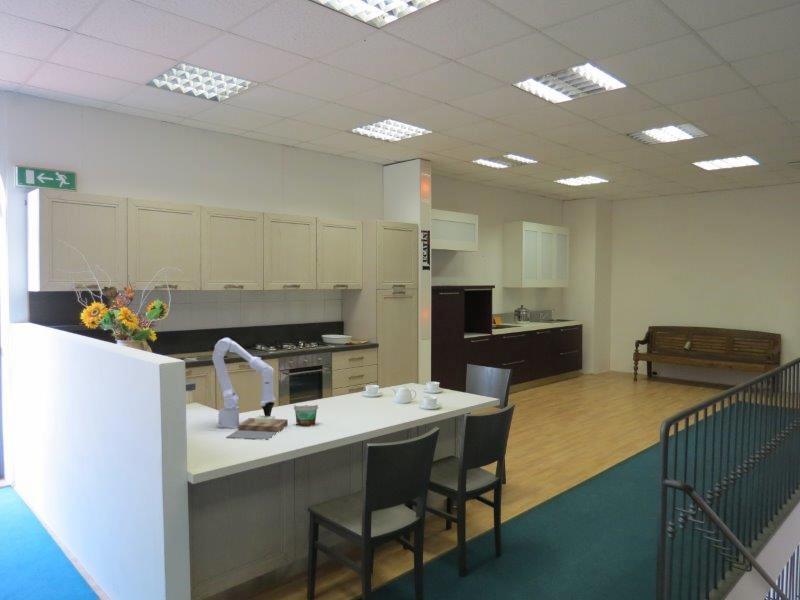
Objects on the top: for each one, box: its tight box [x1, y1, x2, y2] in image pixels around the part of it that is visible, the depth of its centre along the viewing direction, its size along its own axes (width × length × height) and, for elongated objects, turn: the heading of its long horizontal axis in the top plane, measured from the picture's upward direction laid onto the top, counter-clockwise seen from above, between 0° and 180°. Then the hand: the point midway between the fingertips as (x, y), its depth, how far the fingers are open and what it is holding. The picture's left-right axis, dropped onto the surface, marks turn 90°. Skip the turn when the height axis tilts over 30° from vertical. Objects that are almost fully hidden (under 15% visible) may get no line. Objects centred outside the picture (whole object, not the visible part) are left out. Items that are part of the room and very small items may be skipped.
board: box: [237, 417, 288, 433], centre depth 275 cm, size 20×14×3 cm
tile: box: [254, 415, 276, 423], centre depth 277 cm, size 8×6×2 cm
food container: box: [293, 404, 319, 427], centre depth 281 cm, size 12×6×10 cm, turn 101°
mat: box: [226, 429, 278, 441], centre depth 262 cm, size 20×12×1 cm, turn 82°
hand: (267, 417), depth 281 cm, fingers closed
